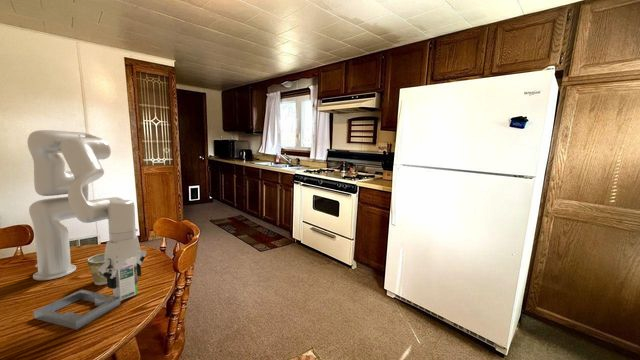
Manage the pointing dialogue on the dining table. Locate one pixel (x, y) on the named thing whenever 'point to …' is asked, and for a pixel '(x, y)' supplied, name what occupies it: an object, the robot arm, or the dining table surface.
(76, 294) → the grey rectangular frame
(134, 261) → the syrup box
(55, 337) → the dining table surface
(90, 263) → the ceramic cup
